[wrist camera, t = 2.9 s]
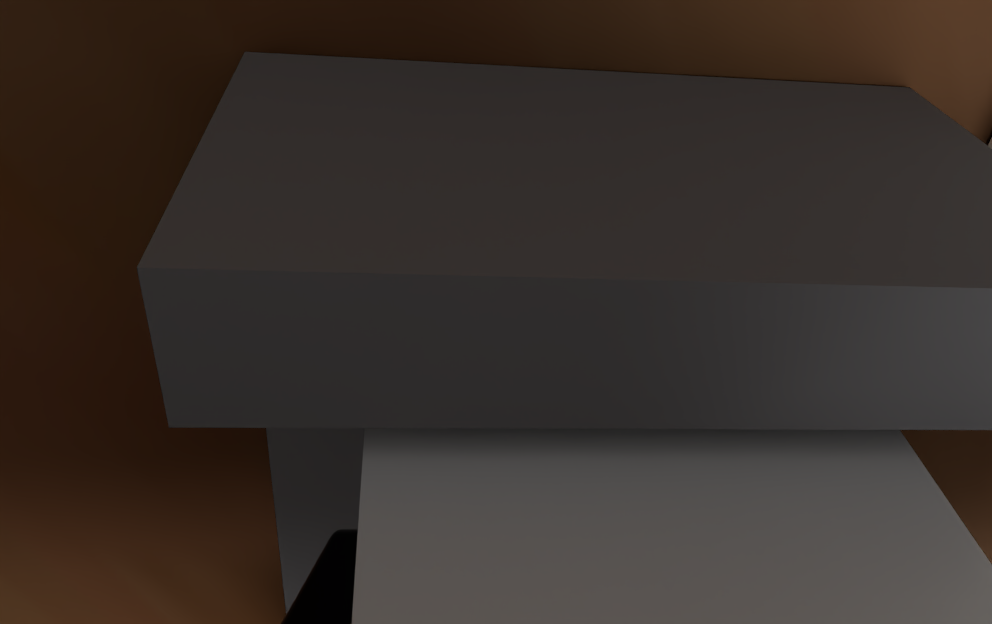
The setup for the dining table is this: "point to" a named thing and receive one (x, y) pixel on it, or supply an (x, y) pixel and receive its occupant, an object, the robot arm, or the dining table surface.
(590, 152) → the holster
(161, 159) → the dining table surface
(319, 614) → the robot arm
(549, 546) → the plug
